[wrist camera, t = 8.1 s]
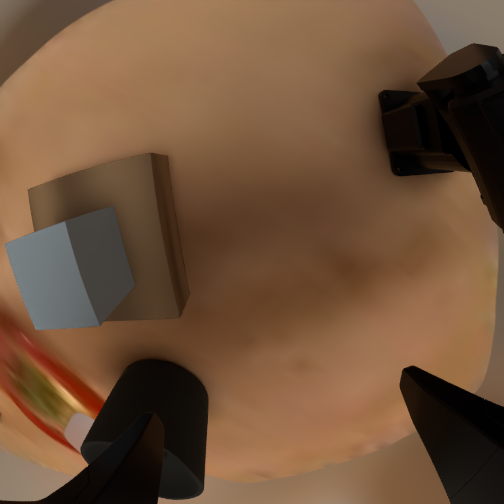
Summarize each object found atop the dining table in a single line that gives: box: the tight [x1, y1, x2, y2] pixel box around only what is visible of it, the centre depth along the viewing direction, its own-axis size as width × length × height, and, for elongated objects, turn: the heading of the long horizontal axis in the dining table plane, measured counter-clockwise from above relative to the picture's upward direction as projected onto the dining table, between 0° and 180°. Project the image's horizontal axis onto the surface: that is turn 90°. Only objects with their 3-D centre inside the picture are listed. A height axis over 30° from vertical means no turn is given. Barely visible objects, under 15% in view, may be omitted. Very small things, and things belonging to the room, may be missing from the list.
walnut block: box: [28, 153, 190, 321], centre depth 17 cm, size 10×10×4 cm
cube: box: [5, 206, 135, 330], centre depth 13 cm, size 5×5×5 cm
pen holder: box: [81, 360, 208, 500], centre depth 18 cm, size 9×9×10 cm
